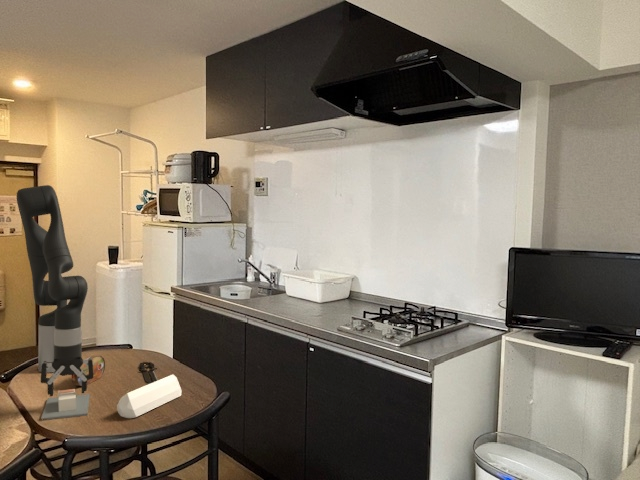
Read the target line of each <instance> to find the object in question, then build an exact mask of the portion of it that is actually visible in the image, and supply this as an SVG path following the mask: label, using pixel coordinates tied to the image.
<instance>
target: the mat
mask: <svg viewBox="0 0 640 480" xmlns="http://www.w3.org/2000/svg"><path fill="white" fill-rule="evenodd" d="M75 395H76V394H75ZM90 397H91V394H90V393H86V394H85V393H84V394H77V395H76V409H74V410H67V411H60V412H59V406H58V396H55V397H54V396H53V397H48V398H47V400H46V403H45V405H44V408H43V411H42V414H41V417H40V420H41V419H50V420H59V419H65V418H66V419H67V418H74V417H75V418H76V417H83V416H84V417H85V416H88V412H89V405H90Z"/></svg>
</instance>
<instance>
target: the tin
mask: <svg viewBox="0 0 640 480" xmlns="http://www.w3.org/2000/svg"><path fill="white" fill-rule="evenodd" d="M89 358H92V359H93V373H94V375H93V378H92V379H89V380H87V386H88V385H90V384H92V383H94V382H95V381H97V380H100V379H101V378H102V376H103V375H104V373H105V370H106V360H105V358H104V357H103V356H102V355H91V356H89V357H87V358H85V359H83V360H86V359H89ZM80 368H81V369H82V370H83V372H84V373H85V374H86V375H88V374H89V369H88V367H87V366H86V365H85V364H83V365H82V366H81V367H80ZM71 381H72V383H73V385H75V386H78V387H82V379H81V378H80V377H78V376H77V375H76V374H73V375H71Z"/></svg>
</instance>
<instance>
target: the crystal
mask: <svg viewBox="0 0 640 480" xmlns="http://www.w3.org/2000/svg"><path fill="white" fill-rule="evenodd" d="M157 380H158V381H155V382H153V381H152V383H147V384H146V385H143V386H141V387H138V388H136V389H134V390H132V391H129V392H127V393H126V394H124V395H123V396H121V397H120V399H119V400H118V403H117V404H116V409H117V413H118V415H119V416H120V417H123V418H126V419H135V418H137V417H139V416H141V415H143V414H146V413H147V412H150V411H151V410H153V409H155V408H158V407H161V406H162V405H164V404H166V403H168V402H171V401H173V400H175V399H177V398H179V397H181V396H182V387H181V386H180V383H179V380H178V377H177V376H176V375H175V374H170V375H167V376H166V377H163V378H161V379H157Z"/></svg>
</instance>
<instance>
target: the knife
mask: <svg viewBox="0 0 640 480" xmlns="http://www.w3.org/2000/svg"><path fill="white" fill-rule="evenodd" d="M144 364H146V365H144ZM145 368H146V369H145ZM148 368H149V370H147V369H148ZM154 370H158V368H157V367H155V364H154V363H153V362H151V361H143V362H140V364H139V369H138V372H141V373H142V374H143V377H144V379H145V382H146V383H147V384H151V383H153V382H155V381H158V380H159V379H158V377H157V376H156V375H157V374H156V372H155V371H154Z"/></svg>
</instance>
